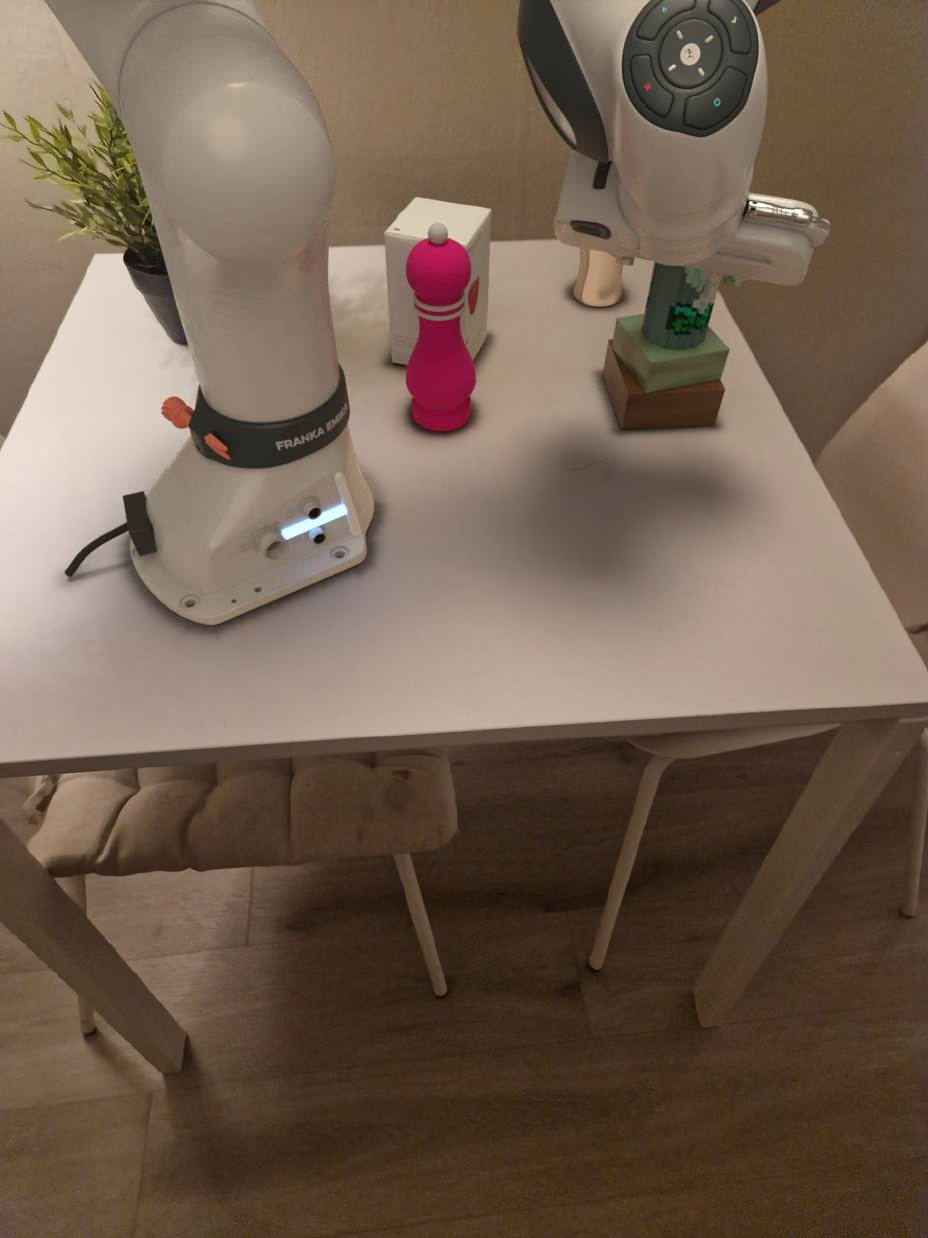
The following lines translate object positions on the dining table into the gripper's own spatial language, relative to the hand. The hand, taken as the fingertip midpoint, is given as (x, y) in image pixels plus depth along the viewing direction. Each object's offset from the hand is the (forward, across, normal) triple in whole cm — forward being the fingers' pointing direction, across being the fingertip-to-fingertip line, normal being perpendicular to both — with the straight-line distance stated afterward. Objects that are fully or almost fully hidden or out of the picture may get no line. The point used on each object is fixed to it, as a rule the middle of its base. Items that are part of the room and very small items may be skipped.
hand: (679, 265), depth 69 cm
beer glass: (+30, +12, -5) cm, 33 cm away
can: (+11, 0, +3) cm, 11 cm away
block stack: (+17, 0, +8) cm, 19 cm away
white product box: (+17, +25, +8) cm, 32 cm away
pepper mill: (+9, +21, +16) cm, 28 cm away
